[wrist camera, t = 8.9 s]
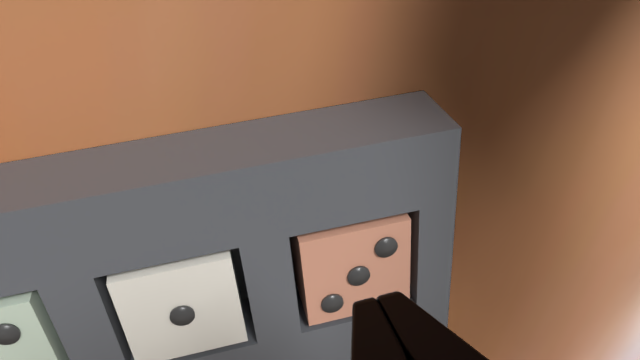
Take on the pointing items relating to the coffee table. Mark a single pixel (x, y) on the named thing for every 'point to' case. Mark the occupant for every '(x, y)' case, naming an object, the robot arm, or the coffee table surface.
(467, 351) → the robot arm
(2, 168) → the keypad
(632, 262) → the coffee table surface
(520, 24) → the coffee table surface
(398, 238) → the key three dots
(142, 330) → the key one dot
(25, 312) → the key two dots
